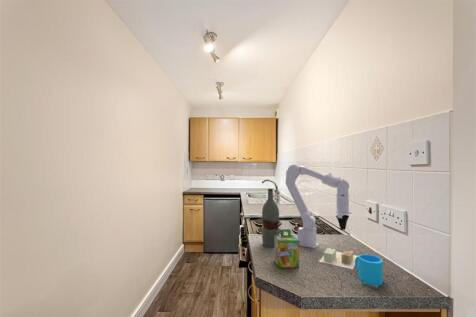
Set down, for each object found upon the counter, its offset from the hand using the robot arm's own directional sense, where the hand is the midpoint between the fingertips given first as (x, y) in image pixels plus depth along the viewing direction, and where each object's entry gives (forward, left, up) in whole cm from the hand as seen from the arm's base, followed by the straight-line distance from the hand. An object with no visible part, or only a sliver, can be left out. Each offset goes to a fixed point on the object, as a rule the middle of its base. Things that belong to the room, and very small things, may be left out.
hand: (342, 229), depth 126 cm
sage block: (-2, -15, -8) cm, 17 cm away
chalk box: (-17, -33, -10) cm, 38 cm away
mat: (+2, -16, -10) cm, 18 cm away
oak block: (+5, -13, -8) cm, 16 cm away
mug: (+14, -28, -10) cm, 33 cm away
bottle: (-34, -14, -10) cm, 38 cm away
